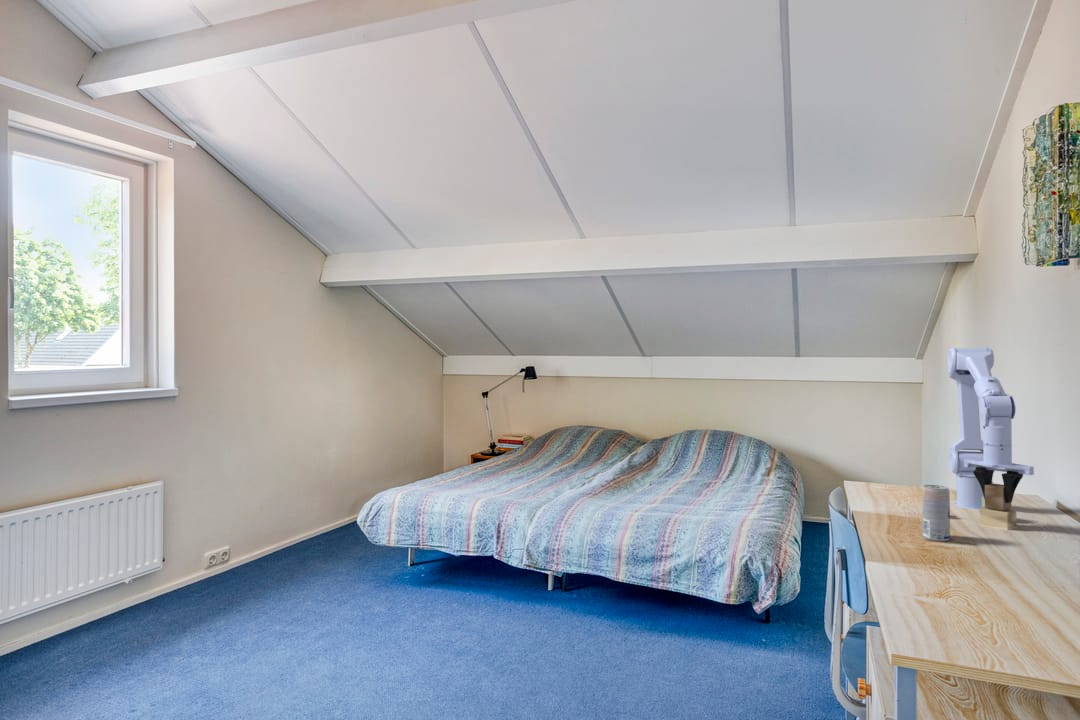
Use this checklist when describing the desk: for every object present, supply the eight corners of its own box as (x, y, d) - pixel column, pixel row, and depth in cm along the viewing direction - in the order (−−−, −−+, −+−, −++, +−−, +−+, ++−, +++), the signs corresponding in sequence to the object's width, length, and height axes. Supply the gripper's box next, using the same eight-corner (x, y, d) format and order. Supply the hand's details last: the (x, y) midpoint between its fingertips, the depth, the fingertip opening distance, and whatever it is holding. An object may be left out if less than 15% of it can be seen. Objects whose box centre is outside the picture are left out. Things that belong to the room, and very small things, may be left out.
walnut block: (984, 507, 162) (984, 485, 162) (993, 505, 164) (992, 483, 164) (1003, 510, 159) (1003, 487, 159) (1011, 508, 161) (1011, 485, 161)
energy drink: (948, 537, 154) (947, 485, 154) (951, 543, 149) (951, 489, 149) (921, 534, 156) (921, 484, 156) (924, 540, 151) (923, 488, 151)
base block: (989, 521, 165) (989, 505, 165) (1016, 526, 160) (1016, 510, 160) (980, 524, 163) (979, 508, 163) (1007, 529, 158) (1007, 512, 158)
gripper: (957, 443, 166) (957, 497, 166) (1023, 449, 153) (1024, 508, 153) (971, 440, 169) (972, 494, 169) (1037, 447, 157) (1038, 504, 157)
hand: (997, 500), depth 161 cm, fingers closed on walnut block, 4 cm apart
